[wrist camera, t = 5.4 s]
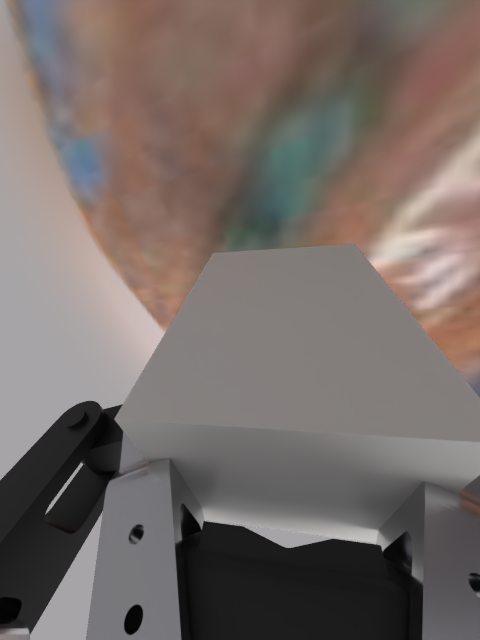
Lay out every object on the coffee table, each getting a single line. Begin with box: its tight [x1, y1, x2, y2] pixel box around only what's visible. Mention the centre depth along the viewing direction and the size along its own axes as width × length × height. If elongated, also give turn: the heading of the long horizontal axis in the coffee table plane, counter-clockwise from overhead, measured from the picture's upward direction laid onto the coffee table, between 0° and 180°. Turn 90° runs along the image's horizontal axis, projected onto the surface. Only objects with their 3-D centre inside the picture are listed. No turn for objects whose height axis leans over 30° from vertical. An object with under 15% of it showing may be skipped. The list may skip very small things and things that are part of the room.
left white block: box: [114, 244, 480, 543], centre depth 8 cm, size 6×6×8 cm
